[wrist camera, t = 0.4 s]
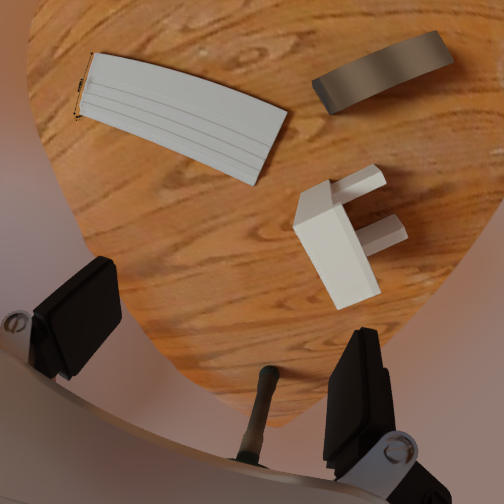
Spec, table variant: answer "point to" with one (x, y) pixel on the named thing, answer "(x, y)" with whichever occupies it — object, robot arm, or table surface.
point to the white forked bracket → (344, 236)
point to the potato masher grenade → (258, 418)
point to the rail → (381, 71)
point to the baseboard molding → (183, 114)
